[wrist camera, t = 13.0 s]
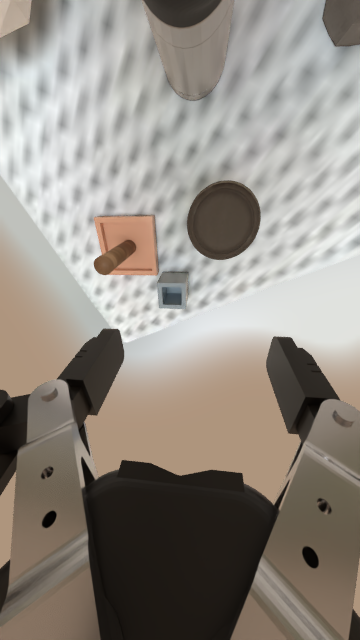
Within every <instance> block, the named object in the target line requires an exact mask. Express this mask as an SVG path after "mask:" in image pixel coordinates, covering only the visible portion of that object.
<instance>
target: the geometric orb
mask: <svg viewBox="0 0 360 640" xmlns="http://www.w3.org/2000/svg"><path fill="white" fill-rule="evenodd" d="M31 3H32V0H0V38H1V37H3V36H5V35H7V34H9V33H11V32H13V31H15V30H17V29H19V28H21V27H23V26H25V25H27V24H29V19H30V11H31Z"/></svg>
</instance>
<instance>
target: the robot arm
mask: <svg viewBox="0 0 360 640" xmlns="http://www.w3.org/2000/svg"><path fill="white" fill-rule="evenodd" d="M141 1H142V4H143V7H144V9H145V12H146V15H147V18H148V21H149V24H150V27H151V30H152V33H153V36H154V39H155V42H156V45H157V48H158V51H159V54H160V57H161V60H162V63H163V66H164V69H165V72H166V75H167V78H168V81H169V83H170V85H171V86H172V88H173V89H174V91H175V92H176V93H177V94H178V95H180V96H181V97H182V98H185V99H187V100H197V99H201V98H203V97H205V96H206V95H207V94H209V93H210V92H211V91H212V90H213V88H214V87H215V86H216V84H217V82H218V81H219V79H220V77H221V74H222V71H223V68H224V63H225V58H226V52H227V46H228V39H229V33H230V26H231V19H232V13H233V6H234V0H141ZM123 360H124V349H123V344H122V339H121V335H120V331H119V330H118V329H103V330H102V331H101V332H100V334H99V335H98V336H97V337H93V338H92V339H91V340H89V341H88V342H86V343H85V344H84V345H83V347H82V348H81V349H80V352H78V353H77V354H76V355H75V358H73V359H72V361H71V362H70V363H69V364H68V366H67V367H66V368H65V369H64V371H63V372H62V373H61V374H60V376H59V377H58V378H57V379H56V380H51V381H48V382H46V383H44V384H42V385H40V386H38V387H37V388H36V389H35V390H34V391H33V392H32V393H31V394H28V395H23V396H18V397H13V398H10V396H9V395H8V393H7V392H6V391H4V390H0V495H1V494H2V492H3V491H4V489H5V487H6V486H7V484H8V483H9V481H10V479H11V478H12V476H13V475H14V473H15V471H16V484H15V499H14V514H13V529H12V544H11V558H10V560H9V561H8V562H7V563H6V564H5V565H4V566H3V567H2V568H1V569H0V640H360V617H359V616H358V615H357V613H356V612H355V611H354V609H353V603H354V595H355V588H356V580H357V572H358V565H359V558H360V411H358V410H357V409H356V408H355V407H353V406H351V405H350V404H348V403H346V402H343V401H340V399H339V397H338V396H337V394H336V393H335V391H334V390H333V388H332V386H331V385H330V383H329V382H328V380H327V379H326V377H325V376H324V374H323V373H322V371H321V369H320V368H319V366H317V363H316V362H315V360H314V359H313V357H312V355H310V354H309V353H308V352H307V351H305V350H304V349H303V348H297V346H296V344H295V343H294V341H293V339H292V338H290V337H273V339H272V342H271V346H270V349H269V353H268V357H267V362H266V367H267V372H268V375H269V378H270V381H271V384H272V387H273V390H274V393H275V396H276V398H277V402H278V404H279V407H280V410H281V413H282V416H283V419H284V422H285V425H286V428H287V431H288V433H290V434H299V437H300V439H301V442H300V444H299V446H298V448H297V451H296V453H295V455H294V458H293V460H292V462H291V465H290V467H289V470H288V472H287V474H286V476H285V479H284V481H283V483H282V485H281V487H280V490H279V492H278V493H277V496H276V498H275V500H274V502H273V504H272V503H271V502H270V501H269V500H268V499H267V498H266V497H265V496H264V495H262V494H261V493H259V492H258V491H257V490H255V489H254V488H252V487H250V486H249V485H246V484H244V483H243V475H242V473H235V472H226V471H217V470H208V471H203V472H198V473H193V474H188V475H182V476H179V475H175V474H173V473H171V472H169V471H167V470H165V469H162V468H160V467H158V466H156V465H153V464H151V463H144V462H135V461H126V460H122V462H121V465H120V468H119V470H115V471H112V472H109V473H107V474H105V475H103V476H101V477H99V476H98V473H97V470H96V467H95V464H94V461H93V456H92V451H91V447H90V443H89V439H88V433H87V430H86V424H85V422H84V421H85V419H86V417H87V415H97V414H98V412H99V410H100V408H101V406H102V404H103V402H104V400H105V398H106V396H107V393H108V392H109V389H110V387H111V385H112V383H113V381H114V379H115V377H116V375H117V373H118V371H119V369H120V367H121V364H122V363H123Z"/></svg>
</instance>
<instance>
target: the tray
mask: <svg viewBox="0 0 360 640" xmlns="http://www.w3.org/2000/svg"><path fill="white" fill-rule="evenodd" d="M94 220H95V225H96V229H97V234H98V239H99V243H100V248H101V252H102V255H103V254H104V253H106V252H108V251H109V250H111V249H113V248H114V247H116V246H117V245H119V244H121V243H122V242H124V241H126V240H132V241H133V242H134V243H135V245H136V251H135V252H134V253H133V254H132V255H131V256H129V257H128V258H127V259H126V260H125V261H124V262H122V263H121V264H120V265H119V266H118V267H117V268H115V269H114V270H113V271H112V272H111V273H109V274H108V275H157V274H158V272H159V268H158V255H157V243H156V230H155V218H154V215H152V216H98V217H94Z"/></svg>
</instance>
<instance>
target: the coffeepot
mask: <svg viewBox="0 0 360 640" xmlns="http://www.w3.org/2000/svg"><path fill="white" fill-rule="evenodd" d="M323 20H324V23H325V26H326V29H327V32H328V34H329V36H330V38H331V39H332V40H333V42H334V44H335V46H351V45H355V44H360V0H326V4H325V10H324V15H323Z"/></svg>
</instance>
